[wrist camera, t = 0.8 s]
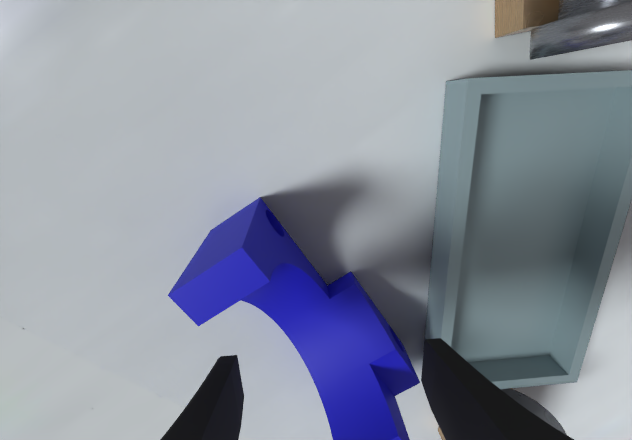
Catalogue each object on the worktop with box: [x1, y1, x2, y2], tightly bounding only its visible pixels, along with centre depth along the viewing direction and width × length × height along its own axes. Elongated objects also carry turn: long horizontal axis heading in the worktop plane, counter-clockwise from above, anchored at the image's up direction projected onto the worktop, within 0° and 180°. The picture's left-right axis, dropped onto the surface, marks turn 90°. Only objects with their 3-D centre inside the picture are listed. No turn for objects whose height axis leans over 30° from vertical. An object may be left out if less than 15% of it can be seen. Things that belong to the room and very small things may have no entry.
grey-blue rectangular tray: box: [422, 70, 632, 389], centre depth 16 cm, size 16×8×2 cm, turn 3°
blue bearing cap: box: [168, 197, 420, 440], centre depth 15 cm, size 12×4×6 cm, turn 33°
